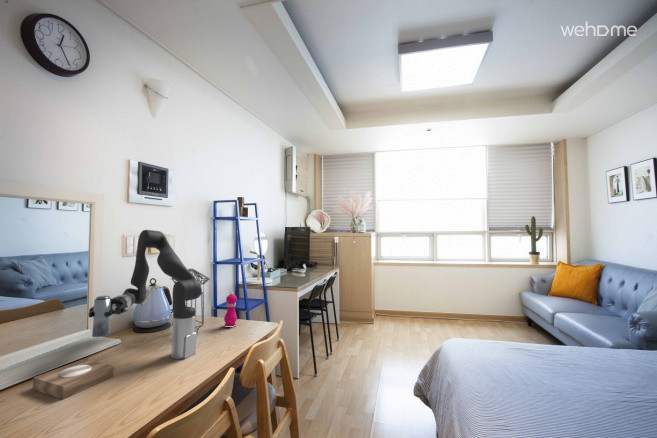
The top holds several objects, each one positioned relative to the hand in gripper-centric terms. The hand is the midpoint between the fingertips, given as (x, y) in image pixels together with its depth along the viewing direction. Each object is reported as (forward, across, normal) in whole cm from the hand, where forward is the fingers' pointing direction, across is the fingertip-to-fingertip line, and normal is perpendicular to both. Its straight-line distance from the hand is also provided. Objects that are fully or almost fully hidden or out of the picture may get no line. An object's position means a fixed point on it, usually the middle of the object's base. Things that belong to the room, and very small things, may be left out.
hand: (98, 314), depth 121 cm
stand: (+16, +2, +20) cm, 25 cm away
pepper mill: (-41, +48, +20) cm, 67 cm away
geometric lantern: (-31, +28, +20) cm, 46 cm away
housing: (-3, 0, +9) cm, 9 cm away
